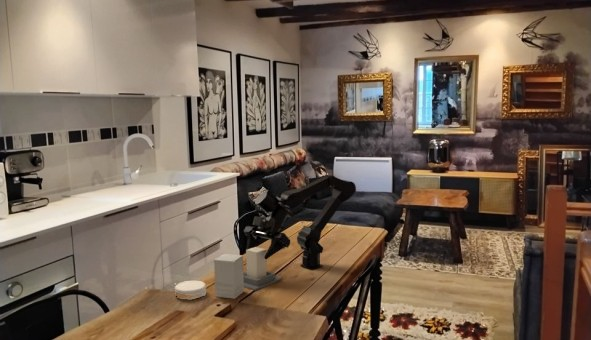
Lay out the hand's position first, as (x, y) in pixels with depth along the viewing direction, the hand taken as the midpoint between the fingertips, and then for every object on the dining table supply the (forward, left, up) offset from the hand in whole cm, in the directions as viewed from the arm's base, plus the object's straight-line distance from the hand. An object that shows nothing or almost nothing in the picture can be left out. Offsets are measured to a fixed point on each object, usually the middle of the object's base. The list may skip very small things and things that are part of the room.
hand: (255, 256), depth 168 cm
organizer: (0, 0, -9) cm, 9 cm away
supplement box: (+14, +4, -9) cm, 17 cm away
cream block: (0, 0, -9) cm, 9 cm away
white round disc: (+24, -4, -10) cm, 26 cm away
